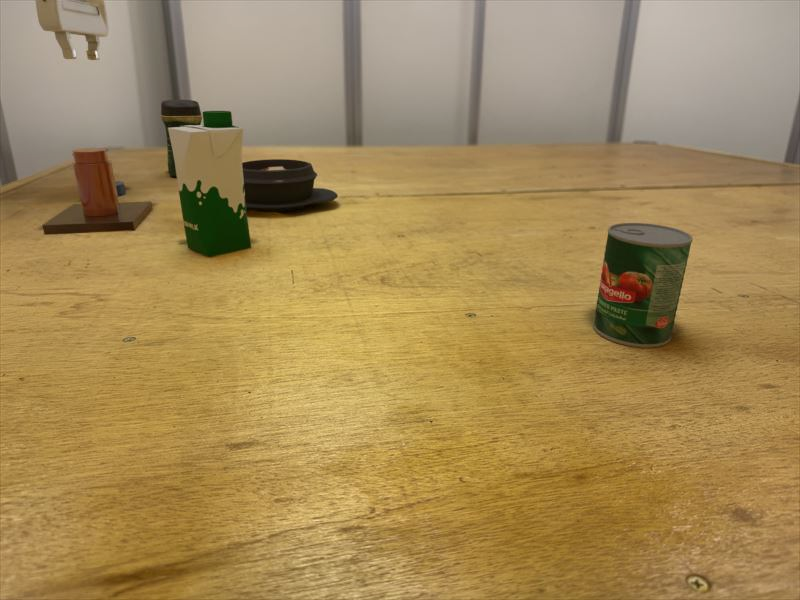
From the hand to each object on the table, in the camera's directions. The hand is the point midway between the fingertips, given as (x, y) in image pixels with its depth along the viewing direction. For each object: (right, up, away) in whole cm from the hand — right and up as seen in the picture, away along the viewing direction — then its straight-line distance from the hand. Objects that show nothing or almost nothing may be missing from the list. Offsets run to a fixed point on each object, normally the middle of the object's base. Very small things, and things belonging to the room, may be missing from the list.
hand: (82, 59), depth 110 cm
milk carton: (+36, -40, -25) cm, 59 cm away
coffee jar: (+9, -16, +33) cm, 38 cm away
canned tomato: (+89, -52, -51) cm, 115 cm away
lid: (0, -23, +10) cm, 25 cm away
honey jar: (+10, -32, -11) cm, 35 cm away
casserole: (+39, -29, +1) cm, 49 cm away
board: (+10, -34, -10) cm, 37 cm away
